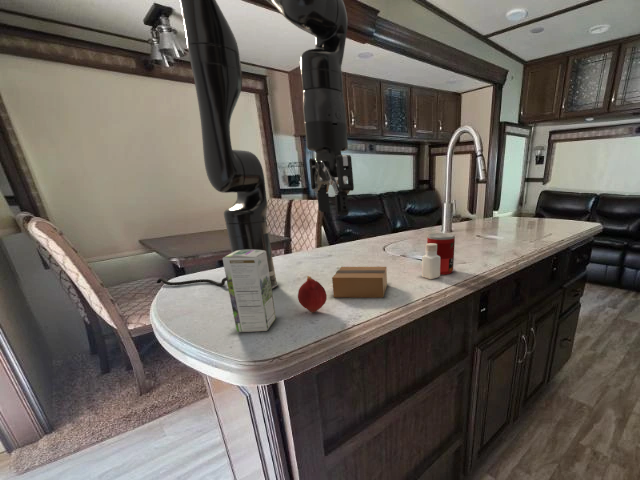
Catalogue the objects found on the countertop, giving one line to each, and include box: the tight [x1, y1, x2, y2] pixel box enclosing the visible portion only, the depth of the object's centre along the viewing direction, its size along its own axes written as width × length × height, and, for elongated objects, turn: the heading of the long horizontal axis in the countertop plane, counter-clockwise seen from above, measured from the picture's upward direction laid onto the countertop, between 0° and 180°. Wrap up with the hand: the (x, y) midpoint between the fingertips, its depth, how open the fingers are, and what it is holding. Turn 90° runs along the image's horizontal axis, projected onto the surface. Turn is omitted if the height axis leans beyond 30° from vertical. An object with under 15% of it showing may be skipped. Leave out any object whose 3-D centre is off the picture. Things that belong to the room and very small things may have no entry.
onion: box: [297, 275, 328, 313], centre depth 66 cm, size 6×6×8 cm
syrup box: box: [222, 250, 277, 333], centre depth 59 cm, size 6×6×14 cm
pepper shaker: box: [421, 243, 441, 280], centre depth 89 cm, size 4×4×10 cm
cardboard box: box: [331, 266, 388, 299], centre depth 79 cm, size 12×10×5 cm
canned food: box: [426, 232, 456, 276], centre depth 94 cm, size 8×8×11 cm
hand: (333, 213), depth 64 cm, fingers open, 8 cm apart
